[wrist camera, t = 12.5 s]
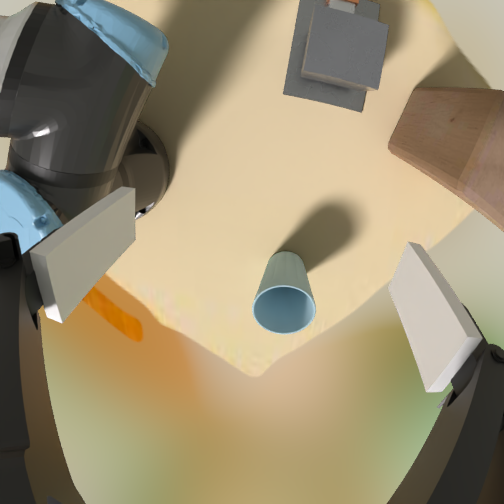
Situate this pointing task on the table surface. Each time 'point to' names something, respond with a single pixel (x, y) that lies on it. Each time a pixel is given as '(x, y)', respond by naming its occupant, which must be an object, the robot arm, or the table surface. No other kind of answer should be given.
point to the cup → (284, 296)
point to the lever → (295, 85)
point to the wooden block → (457, 143)
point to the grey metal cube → (344, 49)
